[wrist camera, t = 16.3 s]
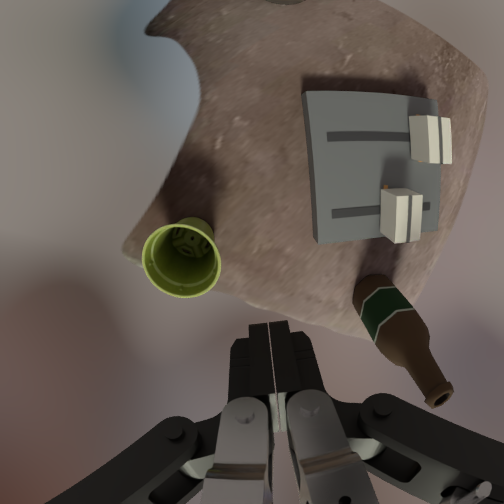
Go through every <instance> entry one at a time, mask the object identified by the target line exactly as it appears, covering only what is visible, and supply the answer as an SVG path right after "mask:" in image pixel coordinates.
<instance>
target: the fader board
mask: <svg viewBox="0 0 504 504" xmlns="http://www.w3.org/2000/svg"><path fill="white" fill-rule="evenodd" d="M301 96H302V104H303V113H304V122H305V131H306V141H307V151H308V162H309V175H310V188H311V203H312V221H313V237H314V239H315V240H316V242H317V243H318V245H319V244H327V243H336V242H344V241H353V240H361V239H370V238H378V237H386V236H385V235H383V234H382V233H381V232H380V217H381V189H393V188H407V189H409V190H412V191H414V192H417V193H419V194H422V195H423V202H422V220H421V232H429V231H437V230H438V219H439V205H440V182H441V164H440V163H427V162H422V161H417V160H413V159H411V140H410V125H409V116H423V115H428V116H436V117H437V116H438V106H437V100H434V99H427V98H421V97H414V96H406V95H397V94H386V93H374V92H356V91H306V92H304V93H303V94H302V95H301Z"/></svg>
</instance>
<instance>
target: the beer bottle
mask: <svg viewBox="0 0 504 504" xmlns="http://www.w3.org/2000/svg"><path fill="white" fill-rule="evenodd" d="M352 303H353V305H354V307H355V309H356V311H357V313H358V315H359V316H360V318H361V320H362V322H363V323H364V325H365V327H366V329H367V330H368V332H369V334H370V336H371V338H372V339H373V341H374V343H375V345H376V346H377V347H378V349H379V350H380V352H381V353H382V354H383V355H384V356H385V357H386V358H387V359H388V360H389V361H391V362H392V363H394V364H395V365H398V366H402V367H405V368H406V369H407V371H408V372H409V374H410V375H411V377H412V378H413V380H414V381H415V383H416V384H417V386H418V387H419V389H420V390H421V391H422V393H423V395H424V396H425V398H426V399H425V401H424V402H425V403H426V404H428V405H429V406H430V407H431V408H432V409H433V408H436V407H439V406H441V405H443V404H444V403H445V402H446V401H448V399H449V398H450V397H451V395H452V394H453V392H454V390H453V386H452V384H451V383H450V382H447V381H446V379H445V377H444V375H443V374H442V372H441V370H440V368H439V367H438V365H437V363H436V362H435V360H434V358H433V356H432V354H431V352H430V349H429V340H430V336H429V331H428V328H427V326H426V325H425V323H424V322H423V320H422V319H421V317H420V316H419V314H418V313H417V311H416V310H415V309H414V308H413V306H412V305H411V304H410V303H409V302H408V300H407V299H406V298H405V297H404V296H403V295H402V293H401V292H400V291H399V290H398V289H397V288H396V287H395V285H394V284H393V283H392V282H391V281H390V280H389V279H388V278H387V277H386V276H385V275H368V276H367V277H366V278H364V279H363V280H362V281H361V282H360V283H359V284H358V285H357V286H355V291H354V297H353V302H352Z"/></svg>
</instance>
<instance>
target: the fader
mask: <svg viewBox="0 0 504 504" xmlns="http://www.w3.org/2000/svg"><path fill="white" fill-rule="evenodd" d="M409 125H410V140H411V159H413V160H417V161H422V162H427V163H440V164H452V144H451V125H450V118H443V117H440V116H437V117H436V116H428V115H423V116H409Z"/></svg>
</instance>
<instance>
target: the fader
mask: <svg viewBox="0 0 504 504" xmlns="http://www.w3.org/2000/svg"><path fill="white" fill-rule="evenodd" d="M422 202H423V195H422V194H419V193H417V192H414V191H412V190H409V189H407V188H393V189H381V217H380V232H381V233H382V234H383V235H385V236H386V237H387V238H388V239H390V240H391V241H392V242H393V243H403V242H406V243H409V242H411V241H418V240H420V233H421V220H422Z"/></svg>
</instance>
